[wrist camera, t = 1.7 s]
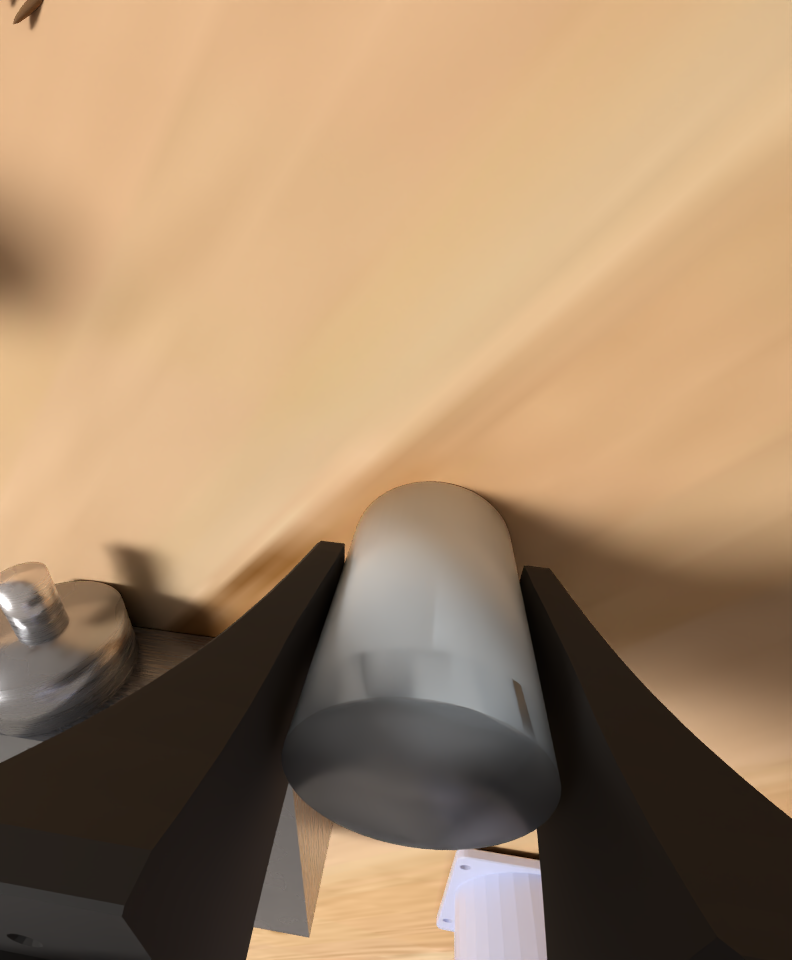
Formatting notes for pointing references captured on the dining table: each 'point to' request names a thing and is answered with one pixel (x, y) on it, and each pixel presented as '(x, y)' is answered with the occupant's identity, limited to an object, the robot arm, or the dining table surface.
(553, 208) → the dining table surface
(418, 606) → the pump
